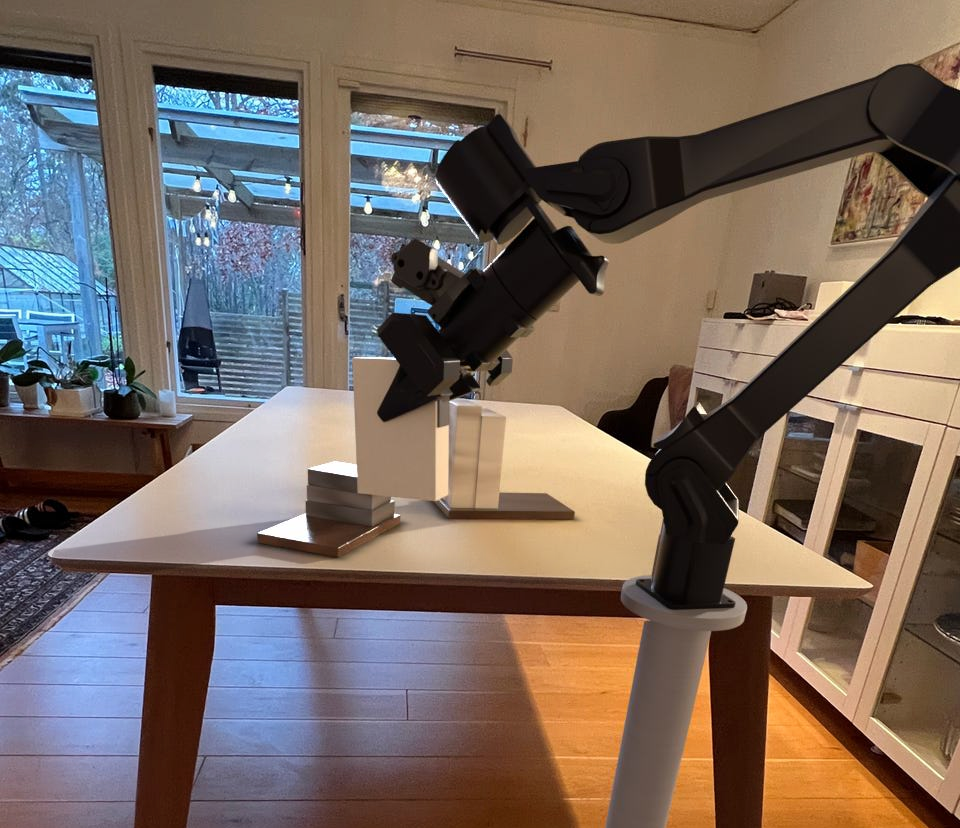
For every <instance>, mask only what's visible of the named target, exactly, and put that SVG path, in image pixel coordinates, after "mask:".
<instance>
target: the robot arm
mask: <svg viewBox="0 0 960 828" xmlns="http://www.w3.org/2000/svg"><path fill="white" fill-rule="evenodd" d="M870 153H871V154H872V153H874V154H876V155H877V156H878V157H880V158H881V159H883V160H884V161H886V162H887V164H889V165H890V166H891V167H892V168H893V169H894V170H895V171H896V172H897V174H899V175H900V176H901V177H902V178H903V179H904V180H905V181H906V182H907V183H908V184H909V185H910V186H911V187H912V188H913V189H914V190H915V191H916V192H918V193H919V194H920V195H922V196H924V197H925V198H926V200H925V201H924V203H923V204H922V205H921V207H920V208H919V209H918V210H917V212H916V213H915V214H914V216H913V217H912V218H911V219H910V221H909V222H908V223H907V225H906V226H905V228H904V229H903V230H902V231H901V232H900V234H899V235H898V237H897V239H896V240H895V241H894V242H893V244H892V245H891V246H890V248H889V249H888V250H887V251H886V252H885V253H884V254H883V255H882V256H881V257H880V258H879V259H878V260H877V261H875V263H874V264H873V265H871V267H870V268H869V269H868V270H867V271H865V272H864V273H863V274H862V275H860V277H859V278H857V280H856V281H854V283H853V284H852V285H850V286H849V287H848V288H847V289H846V290H845V291H844V292H843V293H842V294H841V295H840V296H839V297H838V298H837V299H836V300H834V301H833V303H831V304H830V305H829V306H828V307H827V308H826V309H825V310H824V311H823V312H822V313H820V315H818V316H817V317H816V318H815V319H814V320H813V321H812V322H811V323H810V324H809V325H808V326H807V327H806V328H805V329H803V330H802V332H801V333H799V335H797V336H796V337H795V338H794V339H792V341H791V342H790V343H789V344H788V345H786V346H785V347H784V349H783V350H781V351H780V353H778V354H777V355H776V356H775V357H774V358H773V359H772V360H771V361H769V363H767V364H766V366H765V367H763V368H762V369H761V370H760V371H759V372H758V373H757V374H756V375H754V376H753V377H752V379H750V381H748V382H747V383H746V384H745V385H744V386H743V387H742V388H741V389H740V390H738V392H736V394H734V395H733V397H731V398H729V399H728V400H727V401H725V402H723V403H722V404H720V405H718V406H717V407H716V408H714V409H712V410H710V411H709V412H708V413H707V412H706V410H705V409H704V407H703V406H702V404H701V402H700V401H696V402H695V403H694V404H693V406H692V407H691V408H690V410H689V411H688V412H687V414H686V415H685V417H684V418H683V419H682V420H681V421H680V423H679V424H677V425H676V426H675V427H673V428H672V429H671V430H669V431H666V432H664V433H662V434H661V435H660V436H659V438H657V440H656V441H655V442H654V443H653V448H655V449H658V451H657V452H656V453H655V454H654V455H653V457H652V458H651V459H650V460H649V462H648V464H647V466H646V468H645V473H644V486H645V490H646V493H647V497H648V498H649V499H650V501H651V502H652V503H653V505H654V506H656V507H657V508H658V509H660V510H661V513H662V522H661V527H660V532H659V534H658V537H657V538H658V539H657V544H656V550H655V555H654V559H653V565H652V571H651V575H652V579H636V585H637V586H638V587H640V588H641V589H642V590H644V591H645V592H646V593H648V594H649V595H650V596H652V597H653V598H654V599H656V600H657V601H658V602H660V603H661V604H663V605H664V606H665V607H667V608H668V609H671V610H688V609H716V608H734V607H735V604H736V602H735V601H734V600H732V599H730V598H729V597H727V596H726V595H724V594H723V589H724V588H725V584H726V581H727V576H728V573H729V568H730V565H731V564H730V563H731V559H732V556H733V550H734V546H735V543H736V537H734V535H733V534H734V532H735V530H736V529H737V527H738V525H739V521H740V520H739V513H740V512H739V510H740V509H739V507H740V504H739V503H740V502H739V501H740V500H739V499H738V497H737V496H736V495H735V493H734V492H733V491H732V489H731V488H730V486H729V485H728V483H727V482H728V481H729V480H730V479H731V477H732V476H733V475H734V474H735V473H736V471H737V470H738V468H739V467H740V466H741V464H742V463H743V462H744V461H745V459H746V458H747V457H748V455H749V454H750V453H751V451H752V449H753V448H754V447H755V446H756V445H757V443H758V442H759V440H760V439H761V438H762V437H763V435H764V434H765V433H766V432H767V431H769V430H770V429H771V428H773V426H774V425H776V423H778V422H779V421H780V420H781V419H782V418H783V417H785V416H786V415H787V414H788V413H789V412H791V410H792V409H794V408H795V407H796V405H798V404H799V403H800V402H801V401H803V400H804V399H805V398H806V397H807V396H808V395H809V394H810V393H811V392H813V391H814V390H815V389H816V388H817V387H818V386H819V385H821V383H823V382H824V381H825V380H826V379H827V378H829V377H830V376H831V374H833V373H834V372H835V371H837V369H839V368H840V367H841V366H842V365H843V364H844V363H845V362H846V361H847V360H848V359H850V358H851V357H852V356H853V355H854V354H855V353H856V352H858V351H859V350H861V348H863V346H864V345H866V344H867V343H868V342H869V341H870V340H871V339H872V338H874V336H876V335H877V334H878V333H879V332H880V331H881V330H883V328H885V327H886V326H888V324H889V323H890V322H891V321H892V320H894V319H895V318H896V317H897V316H898V315H899V314H900V313H902V311H904V310H905V309H906V308H907V307H908V306H910V304H911V303H913V302H914V301H915V300H916V299H917V298H918V297H920V296H921V295H923V293H924V292H925V291H926V290H927V289H929V288H931V286H932V285H934V284H935V283H937V282H939V281H940V280H942V279H943V278H945V277H946V276H948V275H950V274H952V273H953V272H955V271H956V270H957V269H959V268H960V89H959V88H956V87H954V86H951V85H948V84H946V83H945V82H943V81H942V80H941V79H939V78H937V77H936V76H935V75H933V73H930V72H929V71H927V70H926V69H925V68H924V67H922V65H919V64H915V63H911V62H907V63H902V64H901V63H900V64H896V65H893V66H892V67H889V68H887V69H886V70H885V71H883V72H882V73H879V74H878V75H876V76H873V77H870V78H867V79H863V80H861V81H858V82H854V83H851V84H849V85H846V86H842V87H840V88H836V89H833V90H830V91H827V92H824V93H821V94H820V93H819V94H817V95H814V96H811V97H808V98H805V99H801V100H798V101H795V102H793V103H789V104H787V105H784V106H781V107H777V108H774V109H772V110H768V111H764V112H763V113H759V114H756V115H753V116H750V117H746V118H743V119H741V120H737V121H734V122H731V123H728V124H725V125H722V126H719V127H716V128H713V129H710V130H706V131H704V132H700V133H696V134H690V135H681V136H666V135H665V136H663V135H662V136H661V135H660V136H657V135H651V136H650V135H646V136H640V137H639V136H638V137H631V138H624V139H616V140H608V141H603V142H599V143H596V144H594V145H593V146H591V147H589V148H588V149H586V150H585V151H584V152H583V153H581V154H580V156H579V157H578V160H576V161H568V162H562V163H555V164H547V165H541V166H537V165H536V163H534V161H533V159H532V158H531V157H530V155H529V154H528V153H527V152H526V150H525V149H524V147H523V145H522V144H521V142H520V139H519V137H518V135H517V133H516V131H515V129H514V128H513V127H512V125H511V124H510V123H509V121H508V120H507V119H506V118H505V117H504V116H503V115H501V113H496V114H495V116H493V118H492V119H491V120H490V121H489V122H488V124H486V125H483V126H479V127H477V128H475V129H474V130H472V131H470V132H469V133H468V134H466V135H465V136H464V137H462V139H461V140H460V139H457V140H455V142H454V143H452V145H451V146H450V147H449V149H448V150H447V151H446V152H445V154H444V155H443V157H442V158H441V160H440V162H439V163H438V166H437V169H436V172H435V176H434V178H435V180H434V181H435V183H436V185H437V186H438V188H439V189H440V191H442V193H443V194H444V195H445V197H446V199H448V200H449V203H451V206H452V207H453V208H454V209H455V211H456V212H457V213H458V214H459V216H460V217H461V219H462V220H463V221H464V223H465V224H466V226H467V227H468V229H470V231H471V232H472V234H473V235H474V236H475V238H476V240H477V241H478V242H479V243H480V244H485V243H489V242H491V241H493V240H494V241H495V243H496V244H497V245H499V246H501V245H504V244H506V243H508V242H509V241H511V240H512V241H511V242H510V243H509V244H508V245H507V246H506V247H505V248H504V249H503V250H502V251H501V252H500V253H499V254H498V255H497V256H496V257H495V258H494V259H493V261H491V262H490V264H488V266H486V268H485V269H479V268H470V269H468V270H466V272H465V273H464V272H463V271H461V270H460V269H459V268H457V267H455V266H454V265H452V264H450V263H449V262H448V261H445V260H444V259H443V258H442V257H440V256H438V255H439V251H438V249H437V248H435V247H432V246H430V245H429V244H426V241H424V240H422V239H420V238H416V237H414V238H413V239H412V240H410V242H405V243H403V242H402V243H401V245H400V248H399V250H397V251H395V252H393V253H392V254H391V258H390V261H391V263H392V265H393V266H392V269H393V272H392V275H391V277H390V282H391V283H392V284H393V285H394V286H396V287H397V288H399V289H405V290H406V291H408V292H410V293H411V294H412V295H414V296H415V297H417V298H419V299H420V300H422V301H423V302H425V303H427V304H428V305H430V307H429V309H427V310H426V313H427V314H416V313H404V312H391V314H390V315H389V316H388V317H387V318H386V319H385V320H384V321H383V322H382V324H380V326H379V327H377V329H376V333H377V337H378V338H379V340H380V341H381V342H382V343H383V345H384V346H385V347H386V348H387V350H388V351H389V352H390V354H391V355H392V357H393V358H395V359H396V360H397V362H398V363H399V364H400V366H399V368H398V371H397V373H396V375H395V377H394V379H393V381H392V384H391V385H390V387H389V389H388V391H387V393H386V395H385V397H384V399H383V401H382V403H381V405H380V407H379V409H378V411H377V415H378V416H379V418H380V419H381V420H382V421H383V422H387V421H390V420H392V419H395V418H397V417H400V416H402V415H405V414H407V413H409V412H412V411H414V410H417V409H419V408H421V407H424V406H426V405H429V404H431V403H434V402H436V401H439V400H441V399H443V398H446V397H448V396H450V401H451V400H454V399H457V398H459V399H460V398H462V397H464V396H467V395H470V394H473V393H476V392H479V391H480V390H481V389H482V388H481V385H480V384H479V382H478V381H477V379H476V378H475V377H474V376H473V375H474V374H475V373H476V372H486V371H487V373H488V374H489V376H488V377H487V379H486V380H485V382H486V384H487V385H488V386H489V387H495V386H498V385H500V384H501V383H502V382H503V381H504V380H505V379H506V378H507V377H508V376H510V374H512V372H513V362H514V358H513V356H512V355H511V353H510V352H509V351H508V349H509V348H510V347H511V346H512V345H513V344H514V343H515V342H516V341H517V340H518V339H520V338H525V339H526V338H528V337H529V336H530V335H531V334H532V333H534V331H535V330H536V328H535V327H534V326H533V325H534V324H535V323H536V322H537V321H539V319H541V317H543V316H544V315H545V314H546V313H547V312H548V311H549V310H550V309H551V308H552V307H553V306H554V305H555V304H557V302H559V300H561V299H562V298H563V297H564V296H565V295H566V294H567V293H568V292H569V291H570V290H571V289H573V287H574V286H575V285H576V284H577V283H578V282H580V283H581V285H582V286H583V288H584V289H585V290H586V291H587V293H588V294H590V295H592V296H593V295H594V296H597V297H601V296H603V295H604V293H605V282H606V281H605V280H606V279H605V278H606V272H607V269H608V267H609V263H610V259H609V258H608V257H607V256H604V255H592V253H591V252H590V250H589V249H588V247H587V246H586V244H585V243H584V242H583V240H582V239H581V238H580V236H579V235H578V234H577V232H576V231H575V229H574V228H573V227H572V226H571V225H565V226H563V227H561V228H557V226H556V225H555V224H554V223H553V222H552V220H551V218H549V216H548V215H547V213H546V212H545V211H544V208H542V206H541V205H540V203H541V202H544V203H546V205H548V206H550V207H551V208H553V209H554V210H555V211H556V212H558V213H559V214H561V215H562V216H563V217H567V218H570V219H573V220H574V221H575V223H576V224H577V226H579V227H580V228H582V229H583V230H585V231H586V232H587V233H589V234H590V235H591V236H593V237H594V238H596V239H597V240H598V241H600V242H602V243H604V244H609V245H616V244H617V245H618V244H623V243H625V242H629V241H630V240H632V239H635V238H636V237H638V236H641V235H643V234H645V233H647V232H649V231H651V230H653V229H655V228H657V227H659V226H661V225H663V224H665V223H667V222H668V221H670V220H671V219H673V218H675V217H676V216H678V215H680V214H682V213H683V212H685V211H686V210H688V209H690V208H692V207H694V206H697V205H698V204H700V203H702V202H704V201H707V200H711V199H715V198H717V197H720V196H725V195H728V194H731V193H735V192H739V191H742V190H745V189H749V188H751V187H757V186H759V185H763V184H766V183H770V182H773V181H776V180H779V179H783V178H786V177H790V176H794V175H797V174H800V173H803V172H807V171H811V170H814V169H818V168H821V167H824V166H828V165H832V164H834V163H838V162H841V161H844V160H848V159H852V158H855V157H859V156H861V155H865V154H870ZM532 218H533V219H532ZM427 315H428V316H429V317H430V318H431V320H432V321H433V322H432V321H431V320H430V319H429V317H428V316H427ZM433 323H434V324H436V325H438V327H439V329H437V328H436V326H435V325H434V324H433Z"/></svg>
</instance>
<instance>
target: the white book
mask: <svg viewBox="0 0 960 828" xmlns="http://www.w3.org/2000/svg"><path fill="white" fill-rule="evenodd" d="M351 360H352V384H353V385H352V386H353V387H352V388H353V409H354V411H353V412H354V434H355V435H354V437H355V459H356V461H355V462H356V465H357V487H358V493H360V494H369V495H379V496H389V497H391V498H400V499H410V500H420V501H427V502H433V501H437V500H439V499H441V498H443V497H445V496H447V495H448V461H449V408H450V396H448V397H446V398H443V399H441V400H439V401H436V402H434V403H431V404H429V405H426V406H424V407H421V408H419V409H417V410H414V411H412V412H409V413H407V414H405V415H402V416H400V417H397V418H395V419H392V420H390V421H387V422H383V421H382V420H381V419H380V418H379V416H378V415H377V411H378V409H379V407H380V405H381V403H382V401H383V399H384V397H385V395H386V393H387V391H388V389H389V387H390V385H391V384H392V381H393V379H394V377H395V375H396V373H397V371H398V368H399V366H400V364H399V363H398V362H397V360H396V359H395V358H394V357H381V356H380V357H379V356H377V357H376V356H360V357H359V356H358V357H352V358H351Z"/></svg>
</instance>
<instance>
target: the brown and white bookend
mask: <svg viewBox="0 0 960 828" xmlns="http://www.w3.org/2000/svg"><path fill="white" fill-rule="evenodd" d="M506 425H507V416H505V415H503V414H501V413H498V412H496V411H494V410H492V409H490V408H488V407H483V406H481V405H480V404H477V403H475V402H473V401H471V400H468V399H467V398H460V397H459V398H457V399H454V400H451V401H450V408H449V461H448V495H447V496H445V497H443V498H441V499H439V500H437V501H432V502H433V503H434V504H435V505H436V506H437V507H438V508H439V509H440V510H441V512H442V513H443V514H444V515H445V516H446V517H447V518H448V519H475V520H477V519H480V520H481V519H485V520H491V519H493V520H498V519H500V520H575V515H576V511H575V510H573V509H571V508H570V507H569V506H567V505H565V504H564V503H563V502H561V501H559V500H558V499H556V498H555V497H554V496H552V495H550V494H548V493H547V492H502V491H500V490H501V479H502V467H503V458H504V457H503V456H504V447H505V435H506Z"/></svg>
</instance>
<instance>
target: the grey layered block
mask: <svg viewBox="0 0 960 828" xmlns="http://www.w3.org/2000/svg"><path fill="white" fill-rule="evenodd" d="M304 503H305V513H304V514H301V515H299V516H296V517H294V518H291V519H289V520H286V521H284V522H281V523H278V524H276V525H274V526H271V527H269V528H267V529H264V530H261V531H259V532H257V533H256V537H257V538H256V541H257V543H258V544H263V545H268V546H275V547H279V548H285V549H290V550H295V551H301V552H307V553H312V554H317V555H323V556H328V557H333V558H339V557H341V556H343V555H345V554H347V553H349V552H350V551H352V550H354V549H356V548H357V547H359V546H361V545H363V544H365V543H367V542H368V541H370V540H373V539H374V538H375V537H377V536H379V535H381V534H383V533H385V532H387V531H389V530H391V529H392V528H394V527H396V526H398V525H399V524H401V514H397V513H395V509H396V507H395V506H396V500H395V499H394V500H393V499H392V497H389V496H379V495H369V494H360V493H358V487H357V464H352V463H347V462H341V461H332V462H328V463H325V464H321V465H317V466H313V467H310V468H307V485H306V500H305V502H304Z"/></svg>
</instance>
